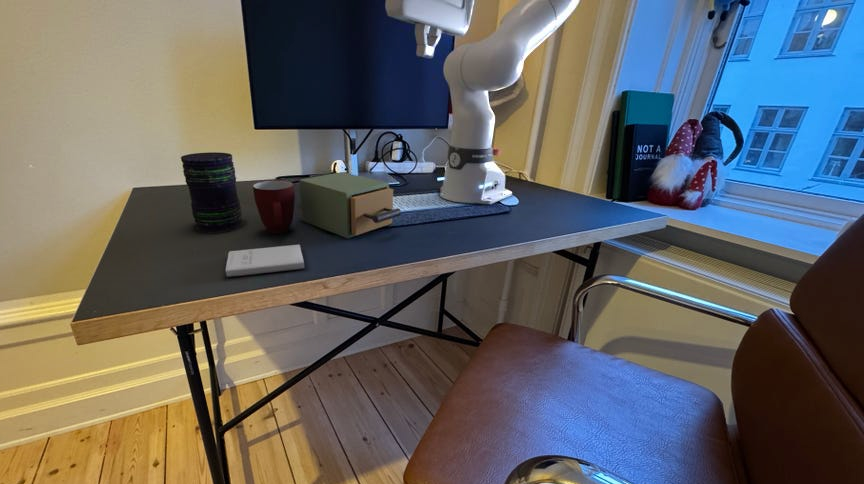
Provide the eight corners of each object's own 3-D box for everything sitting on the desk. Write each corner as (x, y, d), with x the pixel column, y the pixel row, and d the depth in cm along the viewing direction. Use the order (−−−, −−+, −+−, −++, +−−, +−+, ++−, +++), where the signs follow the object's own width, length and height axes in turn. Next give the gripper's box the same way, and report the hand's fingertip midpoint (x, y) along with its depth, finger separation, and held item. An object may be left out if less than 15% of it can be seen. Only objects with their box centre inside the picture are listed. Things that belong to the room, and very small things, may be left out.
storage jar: (185, 227, 80) (169, 157, 73) (222, 215, 88) (210, 150, 81) (217, 236, 76) (202, 162, 69) (252, 222, 84) (243, 155, 77)
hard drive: (304, 270, 63) (226, 278, 59) (300, 251, 70) (230, 257, 66) (303, 261, 62) (224, 269, 59) (299, 243, 69) (228, 249, 66)
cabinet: (388, 224, 84) (389, 182, 80) (347, 238, 76) (346, 192, 72) (343, 209, 94) (341, 171, 90) (302, 220, 85) (299, 179, 81)
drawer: (407, 227, 80) (408, 192, 76) (370, 241, 72) (370, 203, 69) (349, 209, 91) (348, 177, 88) (311, 219, 84) (309, 185, 80)
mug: (305, 238, 76) (301, 190, 71) (265, 244, 72) (258, 194, 68) (292, 223, 84) (288, 179, 80) (256, 227, 81) (249, 182, 76)
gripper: (414, -64, 52) (400, 50, 58) (485, -23, 66) (467, 64, 72) (382, -59, 55) (372, 47, 62) (455, -22, 69) (441, 62, 76)
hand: (424, 57), depth 67 cm, fingers closed
